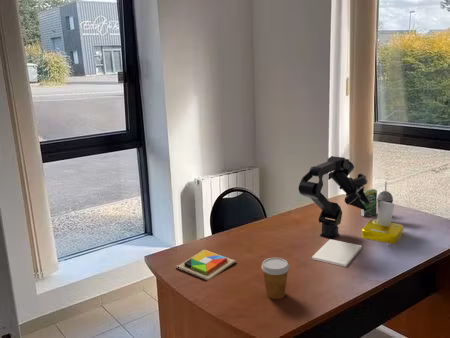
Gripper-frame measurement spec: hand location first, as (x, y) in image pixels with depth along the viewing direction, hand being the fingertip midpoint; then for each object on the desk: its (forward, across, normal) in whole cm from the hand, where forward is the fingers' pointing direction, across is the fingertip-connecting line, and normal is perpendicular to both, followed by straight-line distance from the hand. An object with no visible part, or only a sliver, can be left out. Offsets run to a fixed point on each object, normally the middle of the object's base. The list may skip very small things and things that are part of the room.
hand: (367, 206), depth 199 cm
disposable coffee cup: (-6, -65, +25) cm, 70 cm away
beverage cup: (+14, +17, +5) cm, 22 cm away
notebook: (+3, -25, +15) cm, 29 cm away
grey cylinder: (+11, 0, +1) cm, 11 cm away
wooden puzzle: (-30, -53, +49) cm, 78 cm away
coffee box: (+8, +24, +11) cm, 27 cm away
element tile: (+14, 0, +5) cm, 15 cm away
